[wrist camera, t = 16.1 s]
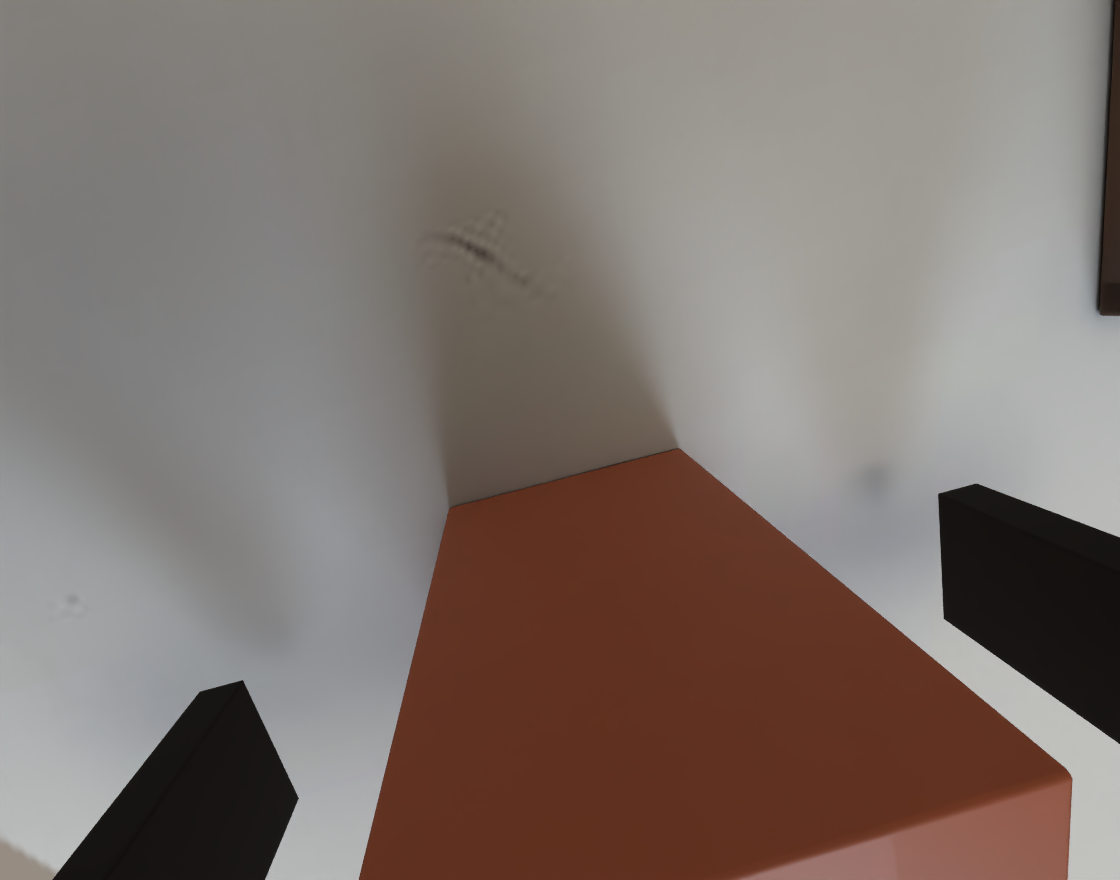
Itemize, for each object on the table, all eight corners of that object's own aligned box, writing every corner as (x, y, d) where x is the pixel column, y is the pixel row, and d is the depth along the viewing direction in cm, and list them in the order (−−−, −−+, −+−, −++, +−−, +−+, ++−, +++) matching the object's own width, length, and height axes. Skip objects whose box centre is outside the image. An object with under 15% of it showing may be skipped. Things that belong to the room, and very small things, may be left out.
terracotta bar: (448, 507, 11) (325, 997, 3) (679, 447, 11) (1077, 773, 3) (509, 701, 12) (525, 1367, 5) (715, 644, 13) (1055, 1189, 5)
